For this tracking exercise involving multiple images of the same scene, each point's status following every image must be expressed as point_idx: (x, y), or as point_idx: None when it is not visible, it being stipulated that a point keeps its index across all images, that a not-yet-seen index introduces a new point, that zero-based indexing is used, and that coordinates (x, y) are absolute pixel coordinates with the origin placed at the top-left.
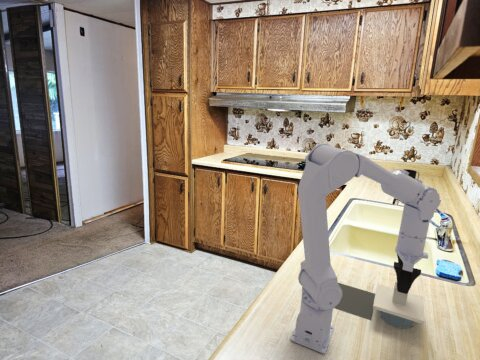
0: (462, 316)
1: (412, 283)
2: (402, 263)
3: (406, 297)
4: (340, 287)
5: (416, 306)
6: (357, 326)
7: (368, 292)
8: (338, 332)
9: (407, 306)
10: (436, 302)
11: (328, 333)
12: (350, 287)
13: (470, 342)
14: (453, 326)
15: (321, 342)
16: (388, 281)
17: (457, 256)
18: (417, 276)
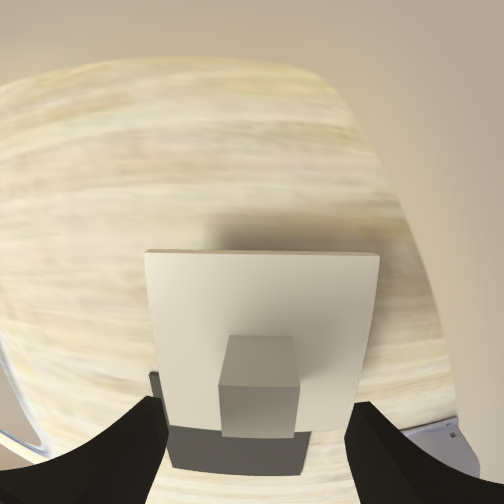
0: (109, 94)
1: (421, 449)
2: (134, 498)
3: (295, 365)
4: (189, 452)
5: (264, 288)
6: (356, 402)
7: (157, 395)
8: (392, 423)
9: (290, 327)
10: (68, 176)
11: (429, 439)
12: (169, 434)
13: (259, 73)
14: (187, 117)
15: (463, 436)
16: (48, 327)
17: None
18: (493, 485)
